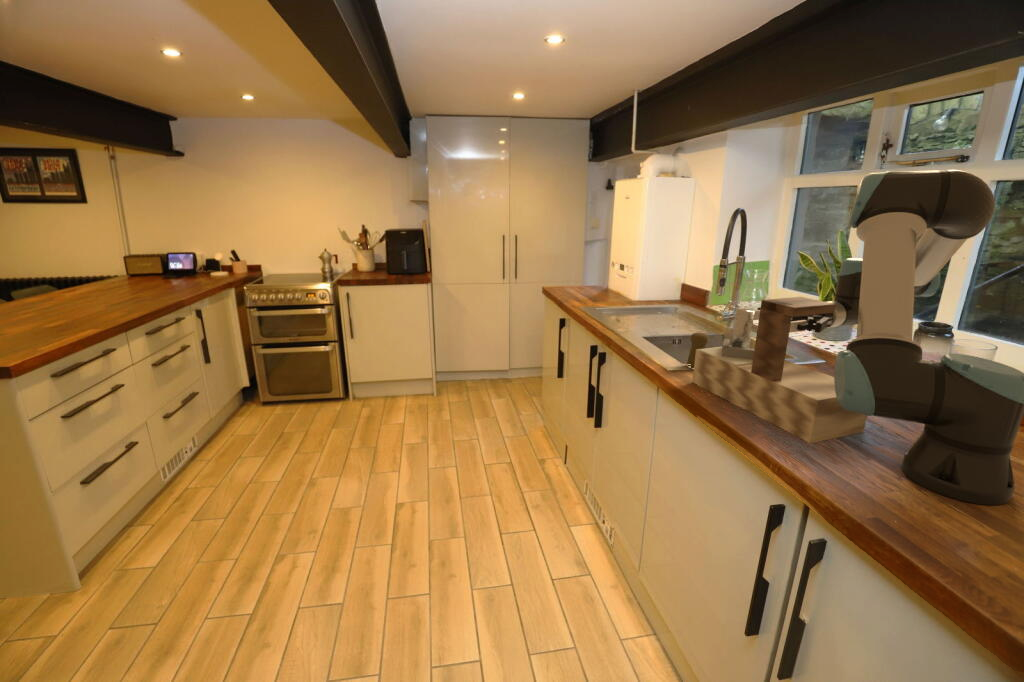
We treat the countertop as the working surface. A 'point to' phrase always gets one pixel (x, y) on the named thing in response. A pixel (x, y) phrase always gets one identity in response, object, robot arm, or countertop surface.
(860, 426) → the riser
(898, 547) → the countertop surface
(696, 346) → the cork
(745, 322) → the axle
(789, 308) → the brown wooden l bracket
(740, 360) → the v cradle
